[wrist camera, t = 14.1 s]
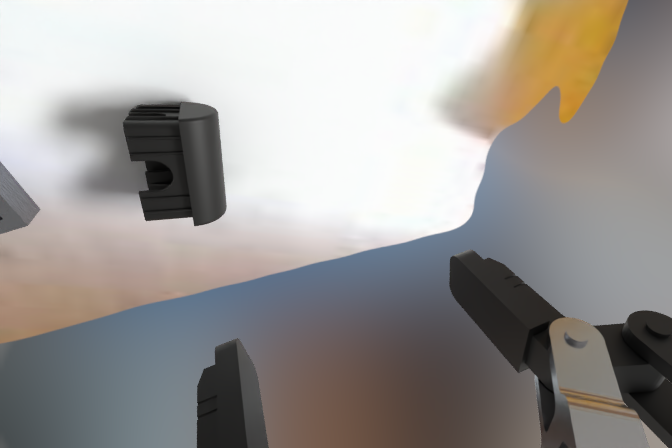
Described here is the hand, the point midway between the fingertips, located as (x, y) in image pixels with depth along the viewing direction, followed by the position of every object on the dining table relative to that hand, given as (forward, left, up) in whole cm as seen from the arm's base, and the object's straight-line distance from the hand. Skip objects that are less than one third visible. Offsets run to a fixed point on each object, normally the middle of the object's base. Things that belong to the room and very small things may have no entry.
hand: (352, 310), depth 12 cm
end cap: (+2, -8, -28) cm, 30 cm away
